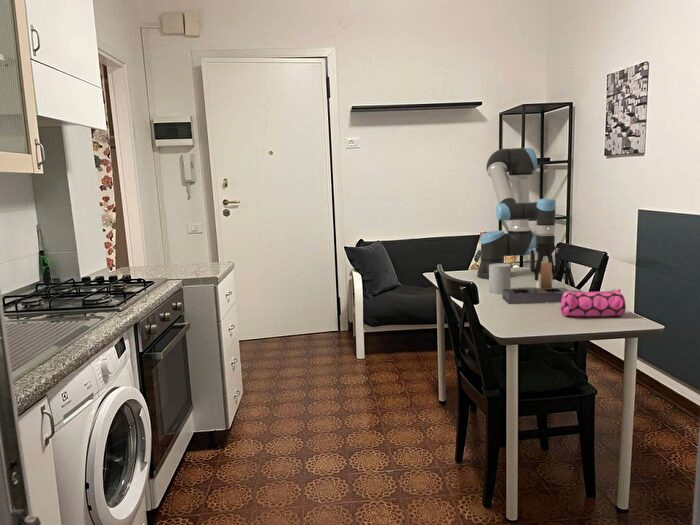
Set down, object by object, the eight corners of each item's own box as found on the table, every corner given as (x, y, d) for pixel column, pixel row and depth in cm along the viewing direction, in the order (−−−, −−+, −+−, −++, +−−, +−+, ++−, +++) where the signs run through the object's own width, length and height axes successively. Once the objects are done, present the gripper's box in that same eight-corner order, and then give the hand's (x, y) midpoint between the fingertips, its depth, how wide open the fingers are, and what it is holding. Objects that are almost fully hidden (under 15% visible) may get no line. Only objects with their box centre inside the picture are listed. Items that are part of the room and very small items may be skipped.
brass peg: (537, 292, 237) (538, 261, 235) (547, 292, 237) (548, 261, 235) (540, 294, 233) (541, 263, 231) (551, 294, 233) (551, 262, 231)
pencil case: (614, 311, 202) (616, 285, 200) (627, 318, 192) (628, 291, 191) (557, 313, 203) (558, 287, 201) (566, 320, 193) (567, 293, 192)
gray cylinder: (488, 294, 238) (489, 266, 236) (488, 289, 247) (488, 263, 245) (511, 294, 236) (511, 266, 234) (510, 289, 245) (510, 263, 243)
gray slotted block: (502, 298, 229) (502, 289, 228) (563, 296, 228) (564, 287, 227) (508, 304, 219) (508, 294, 218) (572, 302, 218) (573, 292, 218)
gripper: (527, 236, 228) (526, 289, 231) (569, 235, 227) (567, 288, 231) (522, 234, 235) (521, 286, 239) (562, 233, 234) (561, 285, 238)
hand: (544, 287), depth 235 cm, fingers closed on brass peg, 4 cm apart
